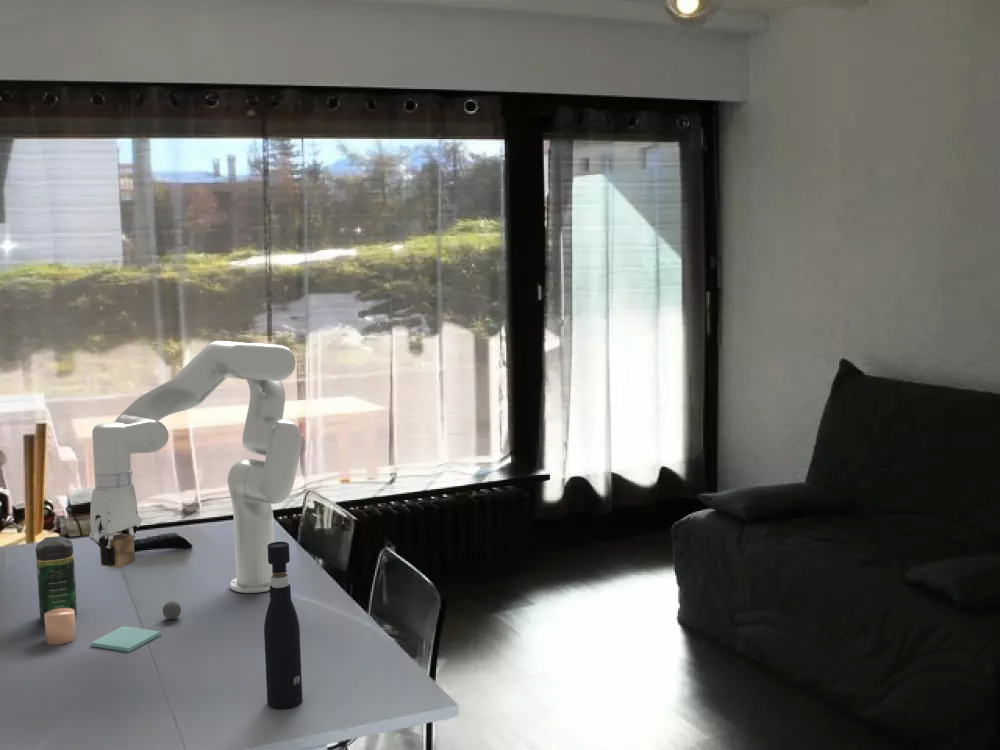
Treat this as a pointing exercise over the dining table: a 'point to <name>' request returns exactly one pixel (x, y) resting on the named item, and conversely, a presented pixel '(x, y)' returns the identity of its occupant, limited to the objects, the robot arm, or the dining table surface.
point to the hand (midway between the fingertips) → (117, 560)
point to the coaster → (126, 638)
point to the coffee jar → (56, 574)
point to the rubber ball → (171, 610)
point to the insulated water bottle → (282, 635)
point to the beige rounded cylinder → (60, 626)
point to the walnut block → (122, 550)
